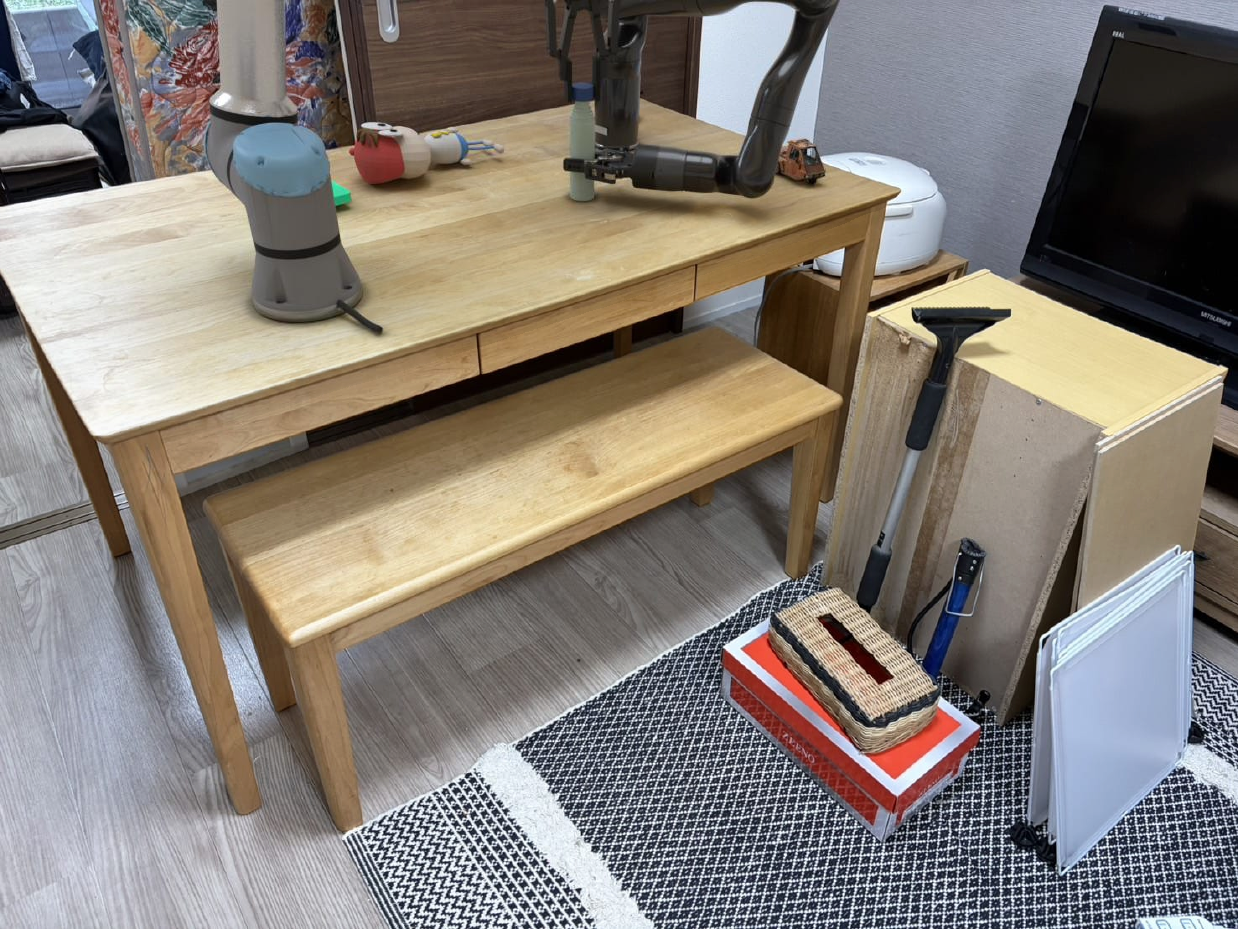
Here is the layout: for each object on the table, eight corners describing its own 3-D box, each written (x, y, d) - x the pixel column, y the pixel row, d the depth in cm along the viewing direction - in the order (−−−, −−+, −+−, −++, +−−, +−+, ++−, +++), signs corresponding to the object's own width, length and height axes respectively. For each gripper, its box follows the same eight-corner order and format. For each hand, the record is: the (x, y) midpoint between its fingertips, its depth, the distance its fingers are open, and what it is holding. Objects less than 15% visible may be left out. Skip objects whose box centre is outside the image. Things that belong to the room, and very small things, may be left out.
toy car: (784, 164, 186) (788, 129, 182) (830, 182, 178) (836, 146, 174) (762, 170, 183) (766, 135, 178) (807, 189, 175) (813, 152, 171)
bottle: (598, 194, 171) (599, 89, 159) (588, 202, 167) (588, 95, 156) (576, 190, 172) (576, 85, 161) (566, 198, 169) (565, 91, 157)
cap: (597, 97, 160) (597, 84, 159) (587, 103, 157) (587, 89, 156) (577, 94, 161) (577, 81, 160) (567, 99, 158) (566, 86, 157)
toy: (520, 129, 175) (365, 133, 160) (519, 183, 180) (369, 192, 165) (478, 113, 188) (332, 115, 173) (478, 164, 193) (336, 170, 178)
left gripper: (532, -51, 140) (537, 108, 154) (641, -52, 144) (636, 102, 158) (523, -58, 146) (528, 95, 160) (628, -60, 150) (624, 90, 164)
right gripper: (668, 134, 167) (576, 126, 169) (655, 160, 156) (556, 151, 158) (666, 175, 171) (576, 167, 174) (653, 203, 160) (557, 193, 163)
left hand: (582, 98), depth 159 cm, fingers open, 4 cm apart
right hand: (567, 159), depth 166 cm, fingers closed on bottle, 4 cm apart
